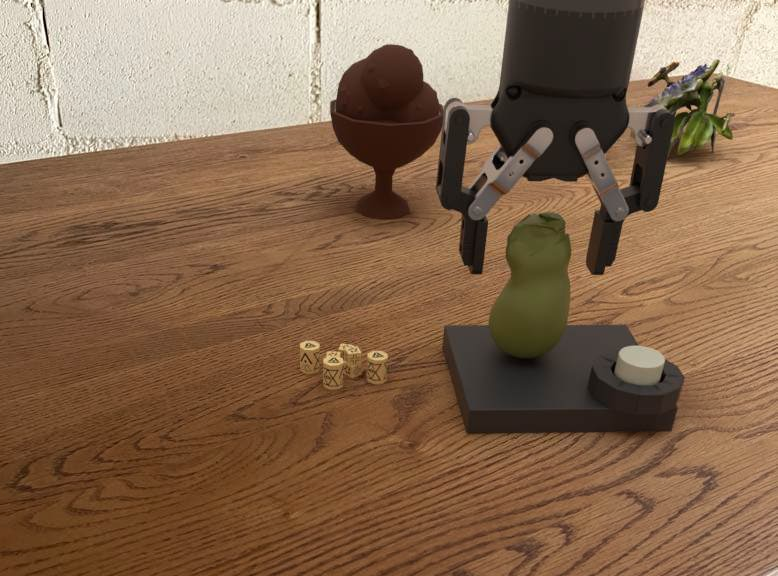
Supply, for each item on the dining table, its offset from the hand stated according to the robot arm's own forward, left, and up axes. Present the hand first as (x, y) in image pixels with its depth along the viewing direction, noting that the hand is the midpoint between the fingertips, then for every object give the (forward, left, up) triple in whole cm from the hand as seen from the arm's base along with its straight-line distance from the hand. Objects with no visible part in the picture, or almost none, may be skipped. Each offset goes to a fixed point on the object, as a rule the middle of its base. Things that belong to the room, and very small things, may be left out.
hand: (534, 270), depth 62 cm
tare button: (-7, +6, -5) cm, 10 cm away
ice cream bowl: (+7, -33, -8) cm, 35 cm away
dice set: (+13, 0, -8) cm, 15 cm away
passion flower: (-31, -54, -8) cm, 63 cm away
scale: (-2, +2, -8) cm, 8 cm away
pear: (0, 0, -6) cm, 6 cm away
